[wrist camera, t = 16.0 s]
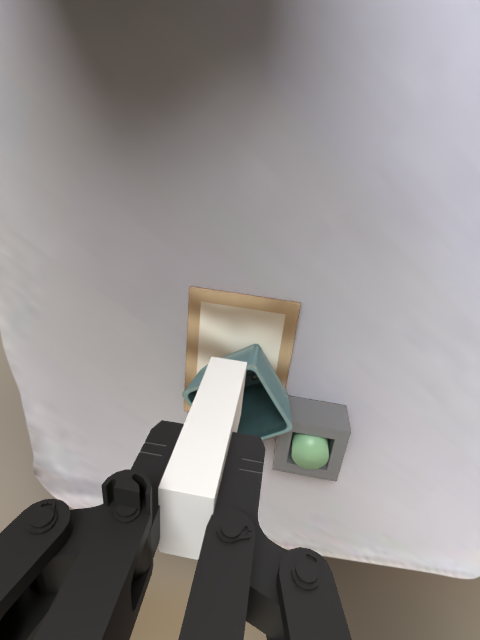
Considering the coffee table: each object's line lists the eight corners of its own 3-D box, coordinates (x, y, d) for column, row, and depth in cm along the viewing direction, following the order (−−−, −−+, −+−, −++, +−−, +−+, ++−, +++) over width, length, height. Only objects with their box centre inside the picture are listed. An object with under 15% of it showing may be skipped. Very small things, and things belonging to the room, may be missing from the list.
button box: (283, 394, 49) (281, 419, 45) (346, 405, 48) (350, 432, 44) (275, 441, 53) (272, 469, 48) (333, 452, 52) (336, 481, 47)
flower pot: (235, 404, 50) (222, 454, 42) (200, 351, 48) (180, 393, 39) (295, 382, 47) (294, 430, 39) (262, 324, 45) (253, 363, 37)
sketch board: (190, 286, 45) (189, 288, 44) (300, 302, 44) (300, 304, 43) (185, 408, 53) (183, 411, 52) (278, 424, 51) (278, 428, 51)
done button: (295, 412, 49) (294, 438, 45) (329, 418, 49) (332, 445, 44) (290, 438, 51) (288, 465, 47) (323, 444, 50) (324, 472, 46)
